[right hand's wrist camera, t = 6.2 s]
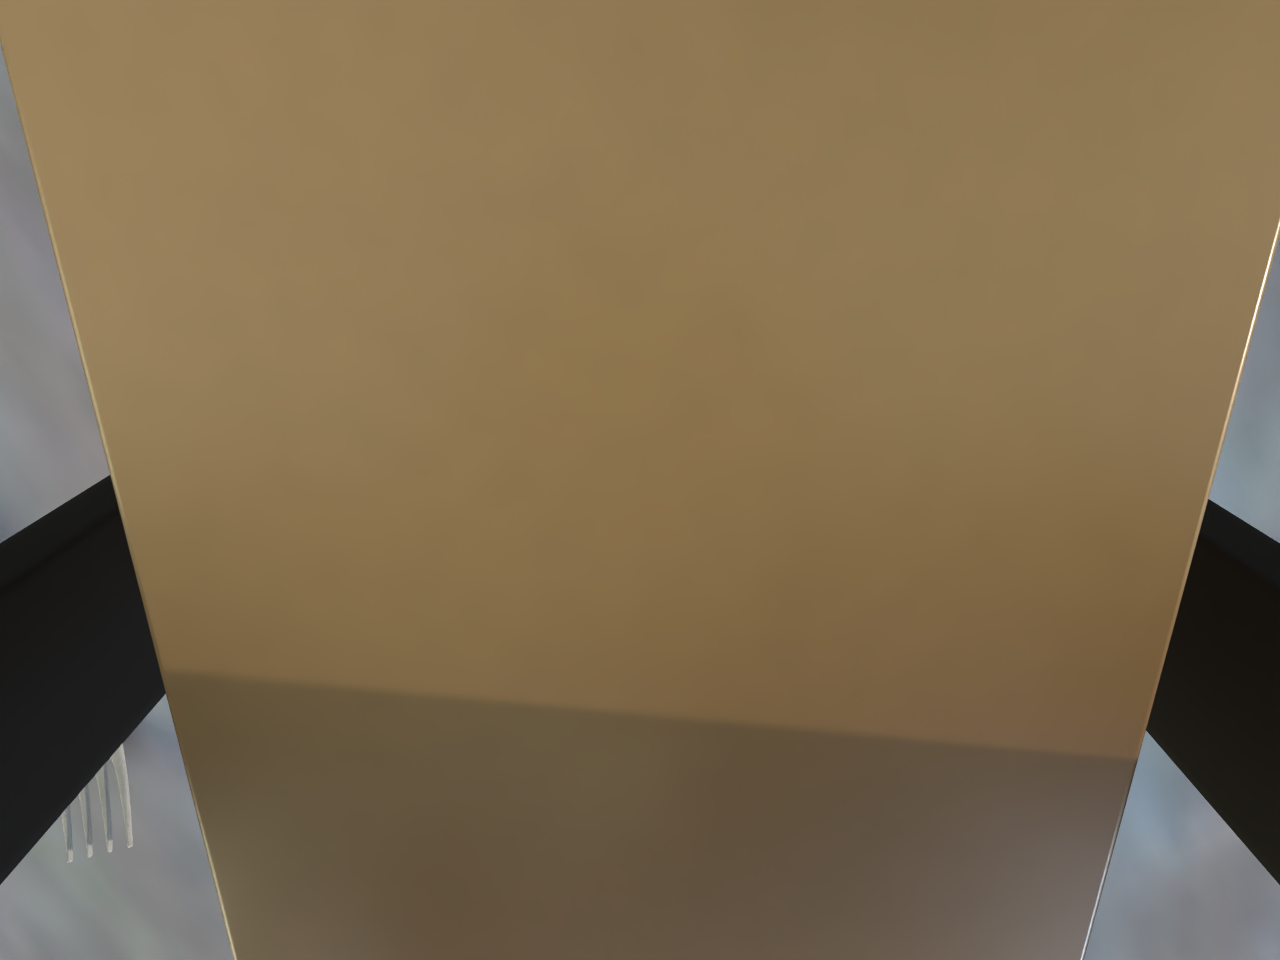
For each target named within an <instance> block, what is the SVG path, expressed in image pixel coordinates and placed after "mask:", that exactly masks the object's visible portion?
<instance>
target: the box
mask: <svg viewBox="0 0 1280 960" xmlns="http://www.w3.org/2000/svg"><path fill="white" fill-rule="evenodd" d="M0 43H1V47H2V51H3V55H4V59H5V63H6V67H7V71H8V75H9V78H10V82H11V86H12V90H13V94H14V98H15V102H16V106H17V110H18V114H19V118H20V122H21V126H22V130H23V133H24V137H25V141H26V145H27V149H28V153H29V157H30V161H31V165H32V169H33V173H34V177H35V181H36V185H37V188H38V192H39V196H40V200H41V204H42V208H43V212H44V216H45V220H46V224H47V228H48V232H49V236H50V240H51V243H52V247H53V251H54V255H55V259H56V263H57V267H58V271H59V275H60V279H61V283H62V287H63V291H64V295H65V298H66V302H67V306H68V310H69V314H70V318H71V322H72V326H73V330H74V334H75V338H76V342H77V346H78V350H79V353H80V357H81V361H82V365H83V369H84V373H85V377H86V381H87V385H88V389H89V393H90V397H91V401H92V405H93V408H94V412H95V416H96V420H97V424H98V428H99V432H100V436H101V440H102V444H103V448H104V452H105V456H106V460H107V463H108V467H109V471H110V475H111V479H112V483H113V487H114V491H115V495H116V499H117V503H118V507H119V511H120V515H121V518H122V522H123V526H124V530H125V534H126V538H127V542H128V546H129V550H130V554H131V558H132V562H133V566H134V570H135V573H136V577H137V581H138V585H139V589H140V593H141V597H142V601H143V605H144V609H145V613H146V617H147V621H148V625H149V628H150V632H151V636H152V640H153V644H154V648H155V652H156V656H157V660H158V664H159V668H160V672H161V676H162V680H163V683H164V687H165V691H166V695H167V699H168V703H169V707H170V711H171V715H172V719H173V723H174V727H175V731H176V735H177V738H178V742H179V746H180V750H181V754H182V758H183V762H184V766H185V770H186V774H187V778H188V782H189V786H190V790H191V793H192V797H193V801H194V805H195V809H196V813H197V817H198V821H199V825H200V829H201V833H202V837H203V841H204V845H205V848H206V852H207V856H208V860H209V864H210V868H211V872H212V876H213V880H214V884H215V888H216V892H217V896H218V900H219V903H220V907H221V911H222V915H223V919H224V923H225V927H226V931H227V935H228V939H229V943H230V947H231V951H232V955H233V958H234V960H1084V957H1085V953H1086V949H1087V946H1088V942H1089V938H1090V934H1091V931H1092V927H1093V923H1094V920H1095V916H1096V912H1097V909H1098V905H1099V901H1100V897H1101V894H1102V890H1103V886H1104V883H1105V879H1106V875H1107V872H1108V868H1109V864H1110V860H1111V857H1112V853H1113V849H1114V846H1115V842H1116V838H1117V835H1118V831H1119V827H1120V823H1121V820H1122V816H1123V812H1124V809H1125V805H1126V801H1127V798H1128V794H1129V790H1130V787H1131V783H1132V779H1133V775H1134V772H1135V768H1136V764H1137V761H1138V757H1139V753H1140V750H1141V746H1142V742H1143V738H1144V735H1145V731H1146V727H1147V724H1148V720H1149V716H1150V713H1151V709H1152V705H1153V701H1154V698H1155V694H1156V690H1157V687H1158V683H1159V679H1160V676H1161V672H1162V668H1163V664H1164V661H1165V657H1166V653H1167V650H1168V646H1169V642H1170V639H1171V635H1172V631H1173V627H1174V624H1175V620H1176V616H1177V613H1178V609H1179V605H1180V602H1181V598H1182V594H1183V590H1184V587H1185V583H1186V579H1187V576H1188V572H1189V568H1190V565H1191V561H1192V557H1193V553H1194V550H1195V546H1196V542H1197V539H1198V535H1199V531H1200V528H1201V524H1202V520H1203V516H1204V513H1205V509H1206V505H1207V502H1208V498H1209V494H1210V491H1211V487H1212V483H1213V479H1214V476H1215V472H1216V468H1217V465H1218V461H1219V457H1220V454H1221V450H1222V446H1223V442H1224V439H1225V435H1226V431H1227V428H1228V424H1229V420H1230V417H1231V413H1232V409H1233V406H1234V402H1235V398H1236V394H1237V391H1238V387H1239V383H1240V380H1241V376H1242V372H1243V369H1244V365H1245V361H1246V357H1247V354H1248V350H1249V346H1250V343H1251V339H1252V335H1253V332H1254V328H1255V324H1256V320H1257V317H1258V313H1259V309H1260V306H1261V302H1262V298H1263V295H1264V291H1265V287H1266V283H1267V280H1268V276H1269V272H1270V269H1271V265H1272V261H1273V258H1274V254H1275V250H1276V246H1277V243H1278V239H1279V235H1280V0H0Z"/></svg>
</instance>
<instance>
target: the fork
mask: <svg viewBox="0 0 1280 960" xmlns="http://www.w3.org/2000/svg"><path fill="white" fill-rule="evenodd" d="M110 759H111V760H112V762H113V764H114V767H115V771H116V776H117V780H118V786H119V791H120V797H121V803H122V809H123V815H124V821H125V828H126V836H127V847H132V846H133V837H132V821H131V808H130V795H129V785H128V776H127V769H126V762H125V755H124V749H123V743H122V744H121V746H120V747H119V748H118V749H117V750H116V751H115V753H114V754H113V755H112V756H111V757H110ZM95 776H96V780H97V785H98V790H99V796H100V802H101V808H102V814H103V820H104V827H105V834H106V842H107V851H108V852H112V826H111V811H110V799H109V788H108V779H107V768H106V763H105V764H104V765H103V766H102V768H101V769H100V770H99V771H98V772H97V773H96V775H95ZM79 800H80V806H81V812H82V818H83V824H84V831H85V839H86V847H87V856H88V857H92V828H91V814H90V801H89V790H88V784H87V785H86V786H85V787H84V788H83V790H82V791H81V792H80V793H79ZM61 815H62V821H63V828H64V835H65V843H66V852H67V862H72V861H73V849H72V829H71V814H70V805H69V806H68V807H67V808H66V809H65V810H64V812H63V813H62V814H61Z"/></svg>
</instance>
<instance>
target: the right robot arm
mask: <svg viewBox="0 0 1280 960" xmlns="http://www.w3.org/2000/svg"><path fill="white" fill-rule="evenodd" d="M165 694H166V691H165V687H164V683H163V680H162V676H161V672H160V668H159V664H158V660H157V656H156V652H155V648H154V644H153V640H152V636H151V632H150V628H149V625H148V621H147V617H146V613H145V609H144V605H143V601H142V597H141V593H140V589H139V585H138V581H137V577H136V573H135V570H134V566H133V562H132V558H131V554H130V550H129V546H128V542H127V538H126V534H125V530H124V526H123V522H122V518H121V515H120V511H119V507H118V503H117V499H116V495H115V491H114V487H113V483H112V479H111V475H109V476H108V477H106V478H104V479H103V480H101V481H100V482H98V483H96V484H95V485H93V486H92V487H90V488H88V489H87V490H85V491H84V492H82V493H80V494H79V495H77V496H76V497H74V498H72V499H71V500H69V501H68V502H66V503H64V504H63V505H61V506H60V507H58V508H56V509H55V510H53V511H52V512H50V513H48V514H47V515H45V516H44V517H42V518H40V519H39V520H37V521H35V522H34V523H32V524H31V525H29V526H27V527H26V528H24V529H23V530H21V531H19V532H18V533H16V534H15V535H13V536H11V537H10V538H8V539H7V540H5V541H3V542H2V543H0V885H1V883H2V882H3V881H4V880H5V879H6V878H7V876H8V875H9V874H10V873H11V872H12V871H13V869H14V868H15V867H16V866H17V865H18V864H19V863H20V861H21V860H22V859H23V858H24V857H25V856H26V854H27V853H28V852H29V851H30V850H31V849H32V847H33V846H34V845H35V844H36V843H37V842H38V841H39V839H40V838H41V837H42V836H43V835H44V834H45V832H46V831H47V830H48V829H49V828H50V827H51V825H52V824H53V823H54V822H55V821H56V820H57V819H58V817H59V816H60V815H61V814H62V813H63V812H64V810H65V809H66V808H67V807H68V806H69V805H70V803H71V802H72V801H73V800H74V799H75V798H76V797H77V795H78V794H79V793H80V792H81V791H82V790H83V788H84V787H85V786H86V785H87V784H88V783H89V782H90V780H91V779H92V778H93V777H94V776H95V775H96V773H97V772H98V771H99V770H100V769H101V768H102V766H103V765H104V764H105V763H106V762H107V761H108V760H109V758H110V757H111V756H112V755H113V754H114V753H115V751H116V750H117V749H118V748H119V747H120V746H121V744H122V743H123V742H124V741H125V740H126V739H127V738H128V736H129V735H130V734H131V733H132V732H133V731H134V729H135V728H136V727H137V726H138V725H139V724H140V722H141V721H142V720H143V719H144V718H145V717H146V716H147V714H148V713H149V712H150V711H151V710H152V709H153V707H154V706H155V705H156V704H157V703H158V702H159V700H160V699H161V698H162V697H163V696H164V695H165ZM1146 731H1147V732H1148V733H1149V734H1150V735H1151V736H1152V738H1153V739H1154V740H1155V741H1156V742H1157V743H1158V745H1159V746H1160V747H1161V748H1162V749H1163V750H1164V751H1165V753H1166V754H1167V755H1168V756H1169V757H1170V758H1171V760H1172V761H1173V762H1174V763H1175V764H1176V765H1177V766H1178V768H1179V769H1180V770H1181V771H1182V772H1183V773H1184V775H1185V776H1186V777H1187V778H1188V779H1189V780H1190V782H1191V783H1192V784H1193V785H1194V786H1195V787H1196V788H1197V790H1198V791H1199V792H1200V793H1201V794H1202V795H1203V797H1204V798H1205V799H1206V800H1207V801H1208V802H1209V804H1210V805H1211V806H1212V807H1213V808H1214V809H1215V810H1216V812H1217V813H1218V814H1219V815H1220V816H1221V817H1222V819H1223V820H1224V821H1225V822H1226V823H1227V824H1228V826H1229V827H1230V828H1231V829H1232V830H1233V831H1234V832H1235V834H1236V835H1237V836H1238V837H1239V838H1240V839H1241V841H1242V842H1243V843H1244V844H1245V845H1246V846H1247V848H1248V849H1249V850H1250V851H1251V852H1252V853H1253V854H1254V856H1255V857H1256V858H1257V859H1258V860H1259V861H1260V863H1261V864H1262V865H1263V866H1264V867H1265V868H1266V870H1267V871H1268V872H1269V873H1270V874H1271V875H1272V876H1273V878H1274V879H1275V880H1276V881H1277V882H1278V883H1279V885H1280V543H1278V542H1277V541H1275V540H1273V539H1272V538H1270V537H1268V536H1267V535H1265V534H1264V533H1262V532H1260V531H1259V530H1257V529H1256V528H1254V527H1252V526H1251V525H1249V524H1248V523H1246V522H1244V521H1243V520H1241V519H1240V518H1238V517H1236V516H1235V515H1233V514H1232V513H1230V512H1228V511H1227V510H1225V509H1224V508H1222V507H1220V506H1219V505H1217V504H1216V503H1214V502H1212V501H1211V500H1209V499H1208V502H1207V505H1206V509H1205V513H1204V516H1203V520H1202V524H1201V528H1200V531H1199V535H1198V539H1197V542H1196V546H1195V550H1194V553H1193V557H1192V561H1191V565H1190V568H1189V572H1188V576H1187V579H1186V583H1185V587H1184V590H1183V594H1182V598H1181V602H1180V605H1179V609H1178V613H1177V616H1176V620H1175V624H1174V627H1173V631H1172V635H1171V639H1170V642H1169V646H1168V650H1167V653H1166V657H1165V661H1164V664H1163V668H1162V672H1161V676H1160V679H1159V683H1158V687H1157V690H1156V694H1155V698H1154V701H1153V705H1152V709H1151V713H1150V716H1149V720H1148V724H1147V727H1146Z"/></svg>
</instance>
